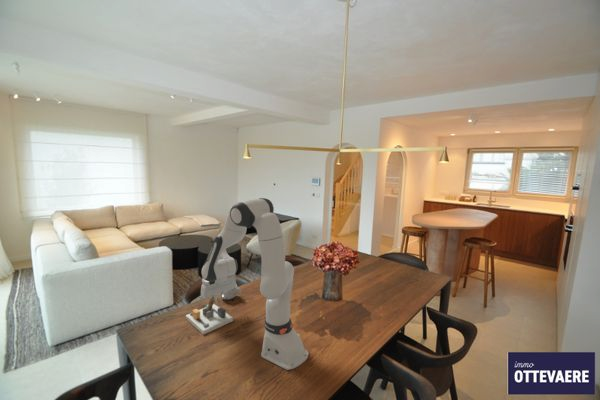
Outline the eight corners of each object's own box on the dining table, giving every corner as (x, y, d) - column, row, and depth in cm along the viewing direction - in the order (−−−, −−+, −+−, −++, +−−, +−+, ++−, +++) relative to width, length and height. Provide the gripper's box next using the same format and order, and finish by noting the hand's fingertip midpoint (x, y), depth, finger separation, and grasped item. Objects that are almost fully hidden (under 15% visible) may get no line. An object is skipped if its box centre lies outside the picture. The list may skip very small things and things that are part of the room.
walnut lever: (210, 315, 145) (216, 297, 146) (206, 315, 143) (212, 297, 145) (208, 313, 147) (213, 296, 148) (204, 313, 145) (210, 296, 146)
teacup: (216, 298, 168) (215, 286, 167) (228, 292, 177) (228, 280, 176) (233, 304, 161) (232, 292, 160) (244, 297, 171) (244, 285, 170)
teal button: (213, 307, 153) (213, 305, 152) (207, 310, 150) (207, 307, 150) (210, 305, 155) (210, 303, 155) (205, 307, 152) (205, 305, 152)
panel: (232, 320, 144) (232, 311, 144) (203, 334, 132) (202, 324, 131) (214, 307, 158) (214, 298, 157) (185, 318, 145) (185, 309, 145)
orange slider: (200, 317, 143) (200, 311, 142) (195, 319, 141) (195, 313, 140) (196, 314, 145) (196, 308, 145) (192, 316, 143) (192, 310, 143)
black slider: (225, 315, 145) (225, 309, 144) (221, 317, 143) (221, 311, 142) (221, 313, 147) (221, 307, 147) (217, 314, 146) (217, 308, 145)
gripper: (232, 270, 157) (232, 292, 159) (199, 280, 143) (199, 304, 144) (238, 273, 153) (238, 295, 155) (204, 283, 138) (205, 308, 140)
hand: (219, 300), depth 149 cm, fingers open, 3 cm apart
